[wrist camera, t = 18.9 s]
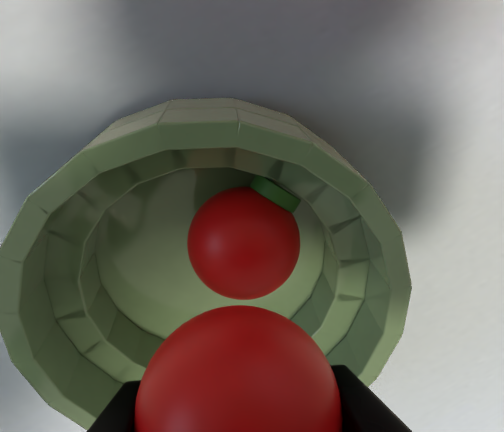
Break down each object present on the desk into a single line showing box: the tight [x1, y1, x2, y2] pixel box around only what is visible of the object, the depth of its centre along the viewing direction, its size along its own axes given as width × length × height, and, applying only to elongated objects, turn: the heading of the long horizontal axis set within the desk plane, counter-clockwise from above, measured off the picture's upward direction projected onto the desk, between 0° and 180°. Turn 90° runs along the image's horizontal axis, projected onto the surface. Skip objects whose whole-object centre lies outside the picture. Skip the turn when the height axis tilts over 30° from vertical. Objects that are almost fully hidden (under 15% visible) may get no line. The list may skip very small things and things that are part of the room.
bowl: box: [0, 98, 412, 430], centre depth 16 cm, size 15×15×5 cm
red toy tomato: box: [134, 305, 343, 432], centre depth 8 cm, size 4×4×5 cm
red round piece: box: [187, 175, 301, 300], centre depth 15 cm, size 4×4×5 cm
